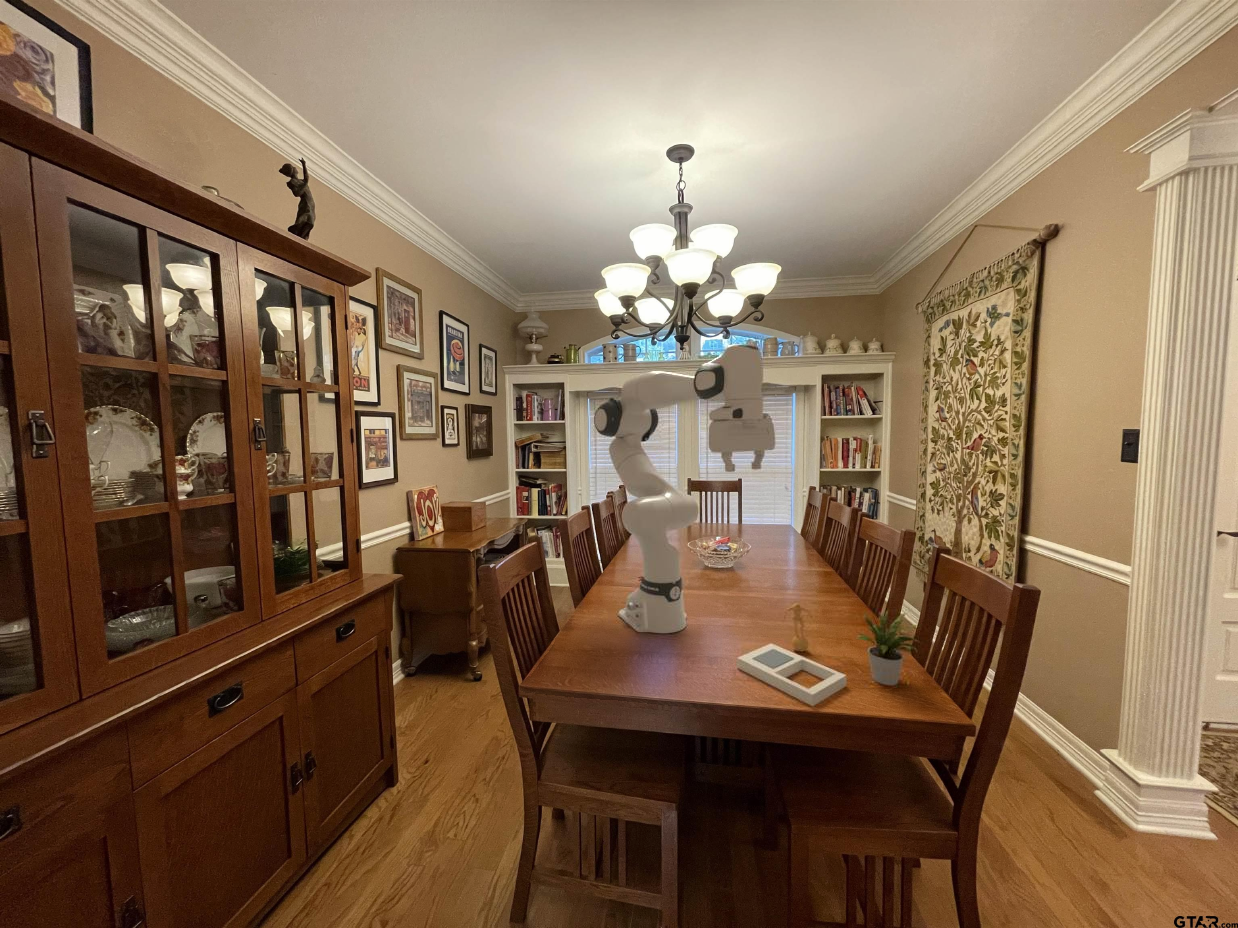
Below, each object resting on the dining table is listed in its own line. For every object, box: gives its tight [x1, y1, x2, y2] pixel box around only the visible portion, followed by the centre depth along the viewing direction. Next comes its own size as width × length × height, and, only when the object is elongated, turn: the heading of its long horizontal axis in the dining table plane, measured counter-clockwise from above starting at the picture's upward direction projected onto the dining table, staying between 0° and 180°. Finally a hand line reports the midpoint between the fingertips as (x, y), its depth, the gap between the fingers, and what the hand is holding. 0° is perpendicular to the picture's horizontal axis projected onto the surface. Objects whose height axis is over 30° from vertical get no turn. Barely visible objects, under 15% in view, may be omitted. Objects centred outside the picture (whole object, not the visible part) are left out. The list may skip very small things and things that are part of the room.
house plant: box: [846, 609, 922, 686], centre depth 106 cm, size 14×14×16 cm
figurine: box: [782, 602, 815, 653], centre depth 122 cm, size 8×6×12 cm
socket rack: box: [736, 643, 847, 707], centre depth 109 cm, size 20×13×3 cm, turn 35°
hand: (743, 470), depth 112 cm, fingers open, 8 cm apart
